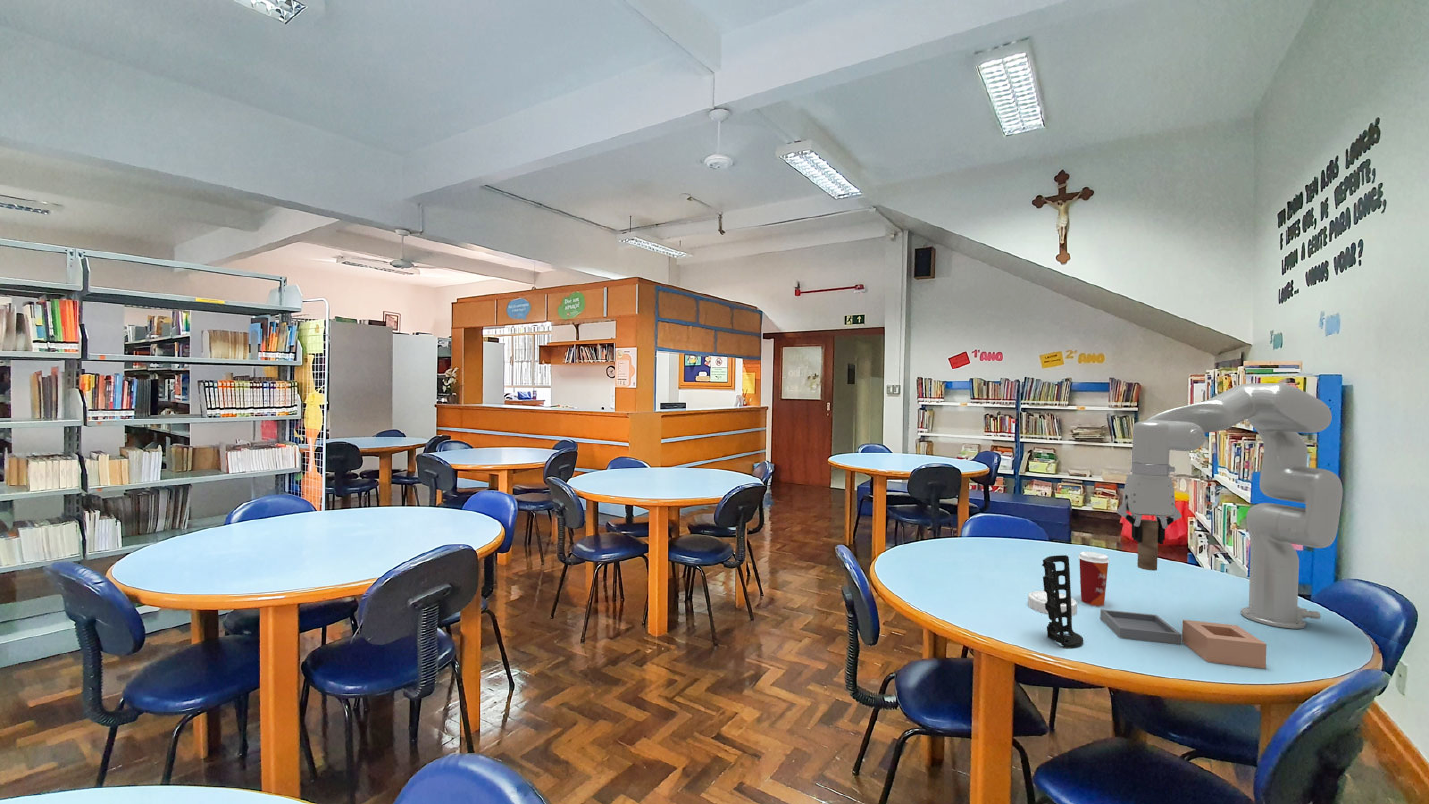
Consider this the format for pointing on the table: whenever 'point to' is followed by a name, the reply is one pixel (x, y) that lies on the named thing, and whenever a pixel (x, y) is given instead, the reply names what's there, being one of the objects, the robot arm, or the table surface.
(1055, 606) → the holder
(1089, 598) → the paper cup
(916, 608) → the table surface
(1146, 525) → the dowel pin
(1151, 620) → the tray
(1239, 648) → the well block
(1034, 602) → the mooncake
